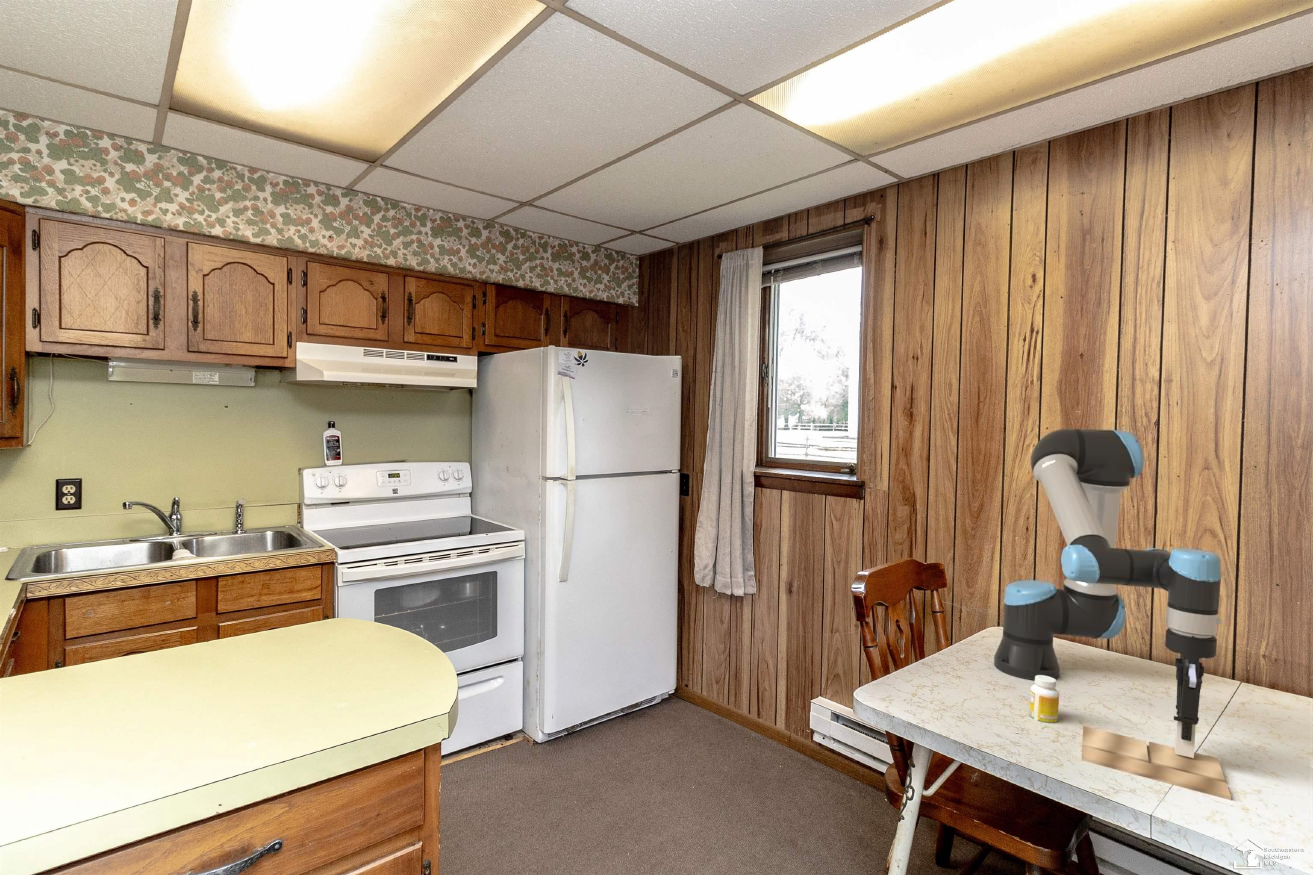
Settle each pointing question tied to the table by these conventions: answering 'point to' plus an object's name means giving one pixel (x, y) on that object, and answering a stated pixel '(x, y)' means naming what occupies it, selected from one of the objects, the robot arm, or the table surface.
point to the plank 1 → (1115, 744)
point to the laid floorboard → (1156, 772)
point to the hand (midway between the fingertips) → (1184, 754)
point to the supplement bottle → (1044, 700)
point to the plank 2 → (1186, 762)
